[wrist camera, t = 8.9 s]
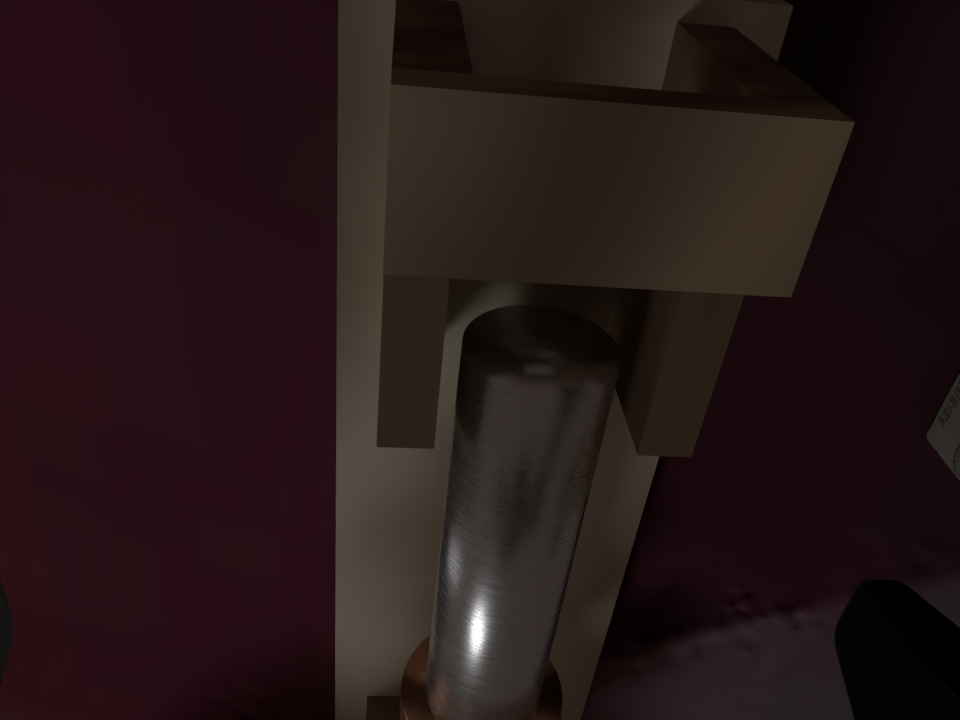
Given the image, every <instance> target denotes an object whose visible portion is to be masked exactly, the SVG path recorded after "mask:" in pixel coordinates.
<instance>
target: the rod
mask: <svg viewBox="0 0 960 720" xmlns="http://www.w3.org/2000/svg"><path fill="white" fill-rule="evenodd" d="M620 365H621V354H620V350H619V348H618V346H617V344H616V343H615V341H614V340H613V338H612V337H611V336H610V335H609V334H608V333H607V332H606V331H604V330H603V329H602V328H601V327H599V326H598V325H596V324H595V323H593V322H591V321H589V320H588V319H586V318H583V317H581V316H579V315H576V314H574V313H571V312H568V311H564V310H561V309H557V308H552V307H546V306H538V305H513V306H505V307H500V308H496V309H493V310H490V311H487V312H485V313H483V314H481V315H479V316H478V317H476V318H475V319H474V320H472V321H471V322H470V323H469V325H468V326H467V327H466V329H465V331H464V334H463V338H462V347H461V357H460V366H459V375H458V384H457V394H456V403H455V412H454V422H453V431H452V440H451V449H450V459H449V468H448V477H447V487H446V496H445V505H444V514H443V524H442V533H441V542H440V551H439V561H438V570H437V579H436V589H435V598H434V607H433V616H432V626H431V635H430V636H429V637H427V638H426V639H425V640H424V641H423V642H422V643H421V644H420V645H419V646H418V647H417V648H416V649H415V650H414V652H413V653H412V655H411V656H410V658H409V660H408V662H407V664H406V667H405V669H404V673H403V677H402V685H401V697H400V720H559V719H560V715H561V710H562V688H561V684H560V680H559V677H558V674H557V672H556V670H555V668H554V666H553V664H552V662H551V661H550V659H549V657H550V653H551V649H552V645H553V641H554V637H555V633H556V629H557V624H558V620H559V616H560V612H561V608H562V604H563V600H564V596H565V591H566V587H567V583H568V579H569V575H570V571H571V567H572V563H573V559H574V554H575V550H576V546H577V542H578V538H579V534H580V530H581V526H582V522H583V517H584V513H585V509H586V505H587V501H588V497H589V493H590V489H591V484H592V480H593V476H594V472H595V468H596V464H597V460H598V456H599V452H600V447H601V443H602V439H603V435H604V431H605V427H606V423H607V419H608V415H609V410H610V406H611V402H612V398H613V394H614V390H615V386H616V382H617V377H618V373H619V369H620Z"/></svg>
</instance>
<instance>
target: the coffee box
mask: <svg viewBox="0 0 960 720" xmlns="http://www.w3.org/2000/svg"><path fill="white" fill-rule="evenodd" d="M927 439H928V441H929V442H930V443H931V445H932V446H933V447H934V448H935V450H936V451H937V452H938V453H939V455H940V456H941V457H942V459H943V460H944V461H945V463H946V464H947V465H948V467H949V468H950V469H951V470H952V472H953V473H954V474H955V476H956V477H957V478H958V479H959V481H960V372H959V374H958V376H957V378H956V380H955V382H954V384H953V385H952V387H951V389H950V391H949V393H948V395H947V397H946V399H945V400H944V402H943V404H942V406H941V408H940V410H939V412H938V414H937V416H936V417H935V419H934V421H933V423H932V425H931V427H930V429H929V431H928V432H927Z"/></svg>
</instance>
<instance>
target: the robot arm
mask: <svg viewBox="0 0 960 720" xmlns="http://www.w3.org/2000/svg"><path fill="white" fill-rule="evenodd" d="M13 635H14V621H13V617H12V614H11V611H10V608H9V605H8V602H7V599H6V596H5V593H4V590H3V587H2V584H1V581H0V683H1V680H2V676H3V673H4V669H5V666H6V663H7V659H8V656H9V652H10V649H11V645H12V641H13ZM834 643H835V649H836V653H837V657H838V660H839V664H840V668H841V672H842V675H843V679H844V683H845V686H846V690H847V694H848V697H849V701H850V705H851V709H852V712H853V716H854V720H960V628H959V627H958V626H957V625H955V624H954V623H953V622H952V621H950V620H949V619H948V618H947V617H946V616H944V615H943V614H942V613H941V612H939V611H938V610H937V609H936V608H934V607H933V606H932V605H931V604H929V603H928V602H927V601H926V600H925V599H923V598H922V597H921V596H920V595H918V594H917V593H916V592H915V591H913V590H912V589H911V588H910V587H908V586H907V585H905V584H904V583H902V582H899V581H896V580H864V581H863V582H861V583H860V584H858V586H857V587H856V589H855V591H854V592H853V594H852V596H851V598H850V600H849V602H848V604H847V605H846V607H845V609H844V611H843V613H842V615H841V616H840V618H839V620H838V622H837V624H836V627H835V632H834Z"/></svg>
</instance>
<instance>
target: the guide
mask: <svg viewBox="0 0 960 720" xmlns="http://www.w3.org/2000/svg"><path fill="white" fill-rule="evenodd" d="M793 7H794V6H793V5H791V4H789V3H788V2H786V1H784V0H338V199H337V415H336V631H335V720H400V697H401V685H402V677H403V673H404V669H405V667H406V664H407V662H408V660H409V658H410V656H411V655H412V653H413V652H414V650H415V649H416V648H417V647H418V646H419V645H420V644H421V643H422V642H423V641H424V640H425V639H426V638H427V637H429V636H430V635H431V626H432V616H433V607H434V598H435V589H436V579H437V570H438V561H439V551H440V542H441V533H442V524H443V514H444V505H445V496H446V487H447V477H448V468H449V459H450V449H451V440H452V431H453V422H454V412H455V403H456V394H457V384H458V375H459V366H460V357H461V347H462V338H463V334H464V331H465V329H466V327H467V326H468V325H469V323H470V322H471V321H472V320H474V319H475V318H476V317H478V316H479V315H481V314H483V313H485V312H487V311H490V310H493V309H496V308H500V307H505V306H513V305H538V306H546V307H552V308H557V309H561V310H564V311H568V312H571V313H574V314H576V315H579V316H581V317H583V318H586V319H588V320H589V321H591V322H593V323H595V324H596V325H598V326H599V327H601V328H602V329H603V330H604V331H606V332H607V333H608V334H609V335H610V336H611V337H612V338H613V340H614V341H615V343H616V344H617V346H618V348H619V350H620V354H621V365H620V369H619V373H618V377H617V382H616V386H615V390H614V394H613V398H612V402H611V406H610V410H609V415H608V419H607V423H606V427H605V431H604V435H603V439H602V443H601V447H600V452H599V456H598V460H597V464H596V468H595V472H594V476H593V480H592V484H591V489H590V493H589V497H588V501H587V505H586V509H585V513H584V517H583V522H582V526H581V530H580V534H579V538H578V542H577V546H576V550H575V554H574V559H573V563H572V567H571V571H570V575H569V579H568V583H567V587H566V591H565V596H564V600H563V604H562V608H561V612H560V616H559V620H558V624H557V629H556V633H555V637H554V641H553V645H552V649H551V653H550V657H549V659H550V661H551V662H552V664H553V666H554V668H555V670H556V672H557V674H558V677H559V680H560V684H561V688H562V710H561V715H560V719H559V720H581V717H582V714H583V710H584V707H585V704H586V700H587V697H588V694H589V690H590V687H591V683H592V680H593V677H594V673H595V670H596V667H597V663H598V660H599V657H600V653H601V650H602V647H603V643H604V640H605V637H606V633H607V630H608V627H609V623H610V620H611V616H612V613H613V610H614V606H615V603H616V600H617V596H618V593H619V590H620V586H621V583H622V580H623V576H624V573H625V570H626V566H627V563H628V559H629V556H630V553H631V549H632V546H633V543H634V539H635V536H636V533H637V529H638V526H639V523H640V519H641V516H642V513H643V509H644V506H645V503H646V499H647V496H648V492H649V489H650V486H651V482H652V479H653V476H654V472H655V469H656V466H657V462H658V459H659V456H670V457H691V456H692V453H693V450H694V447H695V444H696V441H697V438H698V435H699V432H700V429H701V426H702V423H703V420H704V417H705V414H706V411H707V408H708V405H709V401H710V398H711V395H712V392H713V389H714V386H715V383H716V380H717V377H718V374H719V371H720V368H721V365H722V362H723V359H724V356H725V353H726V350H727V347H728V344H729V340H730V337H731V334H732V331H733V328H734V325H735V322H736V319H737V316H738V313H739V310H740V307H741V304H742V301H743V298H744V295H757V296H775V297H791V296H792V293H793V290H794V287H795V285H796V282H797V279H798V276H799V274H800V271H801V268H802V266H803V263H804V260H805V257H806V255H807V252H808V249H809V246H810V244H811V241H812V238H813V235H814V233H815V230H816V227H817V224H818V222H819V219H820V216H821V214H822V211H823V208H824V205H825V203H826V200H827V197H828V194H829V192H830V189H831V186H832V183H833V181H834V178H835V175H836V172H837V170H838V167H839V164H840V162H841V159H842V156H843V153H844V151H845V148H846V145H847V142H848V140H849V137H850V134H851V131H852V129H853V126H854V123H855V122H854V121H853V120H852V119H850V118H849V117H848V116H846V115H845V114H844V113H843V112H841V111H840V110H839V109H838V108H836V107H835V106H834V105H832V104H831V103H830V102H829V101H827V100H826V99H825V98H824V97H822V96H821V95H820V94H818V93H817V92H816V91H815V90H813V89H812V88H811V87H810V86H808V85H807V84H806V83H804V82H803V81H802V80H801V79H799V78H798V77H797V76H795V75H794V74H793V73H792V72H790V71H789V70H788V69H787V68H785V67H784V66H783V65H781V64H780V63H779V62H778V61H777V60H778V57H779V54H780V50H781V47H782V43H783V40H784V37H785V33H786V30H787V27H788V23H789V20H790V17H791V13H792V10H793Z"/></svg>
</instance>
